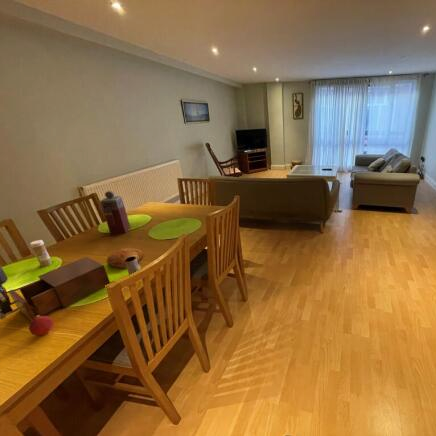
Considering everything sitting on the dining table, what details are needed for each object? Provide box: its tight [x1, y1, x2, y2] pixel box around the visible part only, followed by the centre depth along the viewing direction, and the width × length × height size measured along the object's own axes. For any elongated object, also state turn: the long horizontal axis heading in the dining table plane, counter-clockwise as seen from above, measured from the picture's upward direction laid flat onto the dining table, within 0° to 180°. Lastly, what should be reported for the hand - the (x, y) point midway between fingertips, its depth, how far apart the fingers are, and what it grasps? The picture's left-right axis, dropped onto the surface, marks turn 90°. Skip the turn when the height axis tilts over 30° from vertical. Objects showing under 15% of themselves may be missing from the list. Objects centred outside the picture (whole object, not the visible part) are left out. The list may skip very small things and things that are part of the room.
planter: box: [125, 257, 141, 276], centre depth 111 cm, size 4×4×10 cm
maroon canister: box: [99, 190, 131, 235], centre depth 154 cm, size 9×11×28 cm
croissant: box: [106, 247, 143, 269], centre depth 125 cm, size 14×16×8 cm
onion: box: [28, 314, 55, 336], centre depth 82 cm, size 6×6×8 cm
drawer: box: [0, 279, 62, 322], centre depth 92 cm, size 21×14×9 cm, turn 152°
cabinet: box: [37, 256, 111, 309], centre depth 102 cm, size 17×15×11 cm
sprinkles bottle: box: [29, 239, 53, 268], centre depth 121 cm, size 5×5×13 cm
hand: (8, 313), depth 86 cm, fingers closed
